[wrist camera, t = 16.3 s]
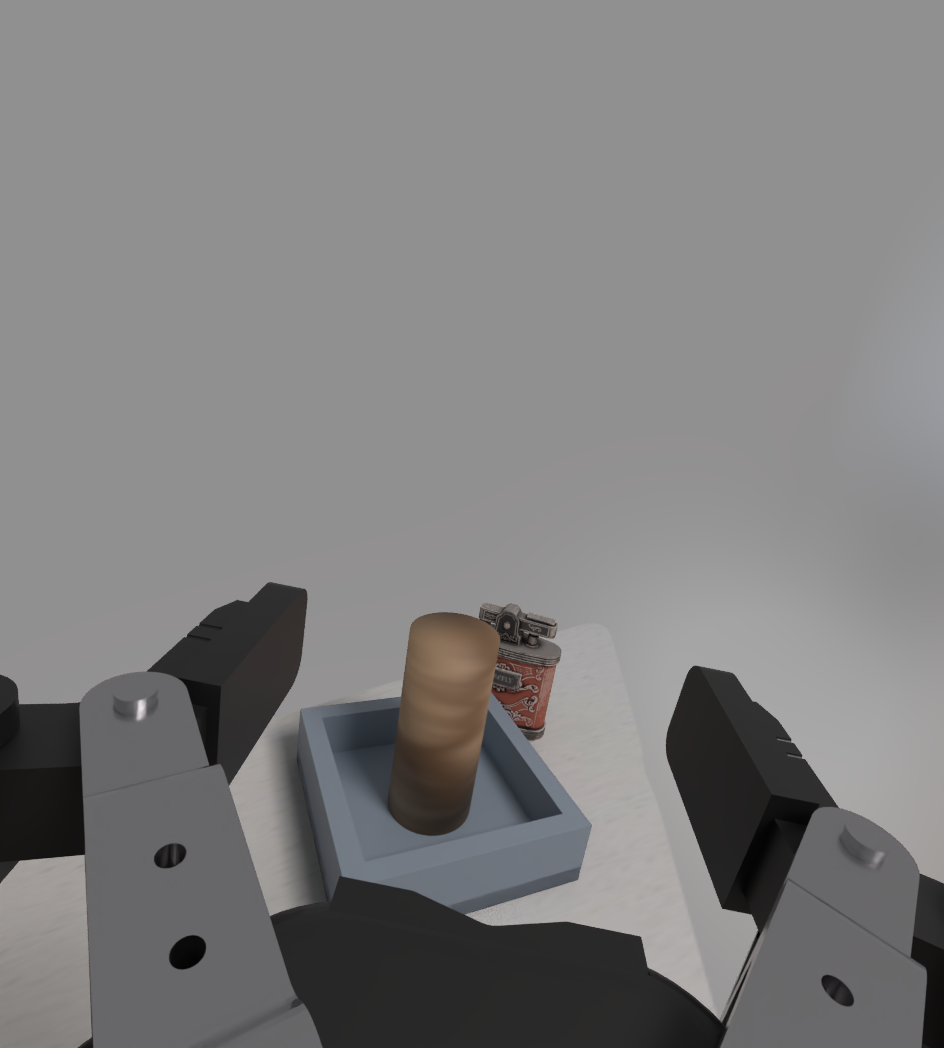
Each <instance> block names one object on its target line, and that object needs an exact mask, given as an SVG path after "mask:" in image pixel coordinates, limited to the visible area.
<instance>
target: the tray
mask: <svg viewBox="0 0 944 1048" xmlns="http://www.w3.org/2000/svg"><path fill="white" fill-rule="evenodd" d="M400 703H401V697H395V698H387V699H379V700H371V701H363V702H354V703H346V704H338V705H330V706H322V707H314V708H306V709H301V711H300V725H299V738H298V752H297V761H298V766H299V770H300V775H301V780H302V784H303V789H304V794H305V798H306V803H307V808H308V812H309V817H310V822H311V826H312V831H313V836H314V840H315V845H316V850H317V854H318V859H319V864H320V868H321V873H322V878H323V882H324V887H325V892H326V896H327V901H328V902H331V901H332V898H333V895H334V891H335V888H336V885H337V882H338V879H339V876H343V877H347V878H352V879H357V880H362V881H367V882H372V883H377V884H382V885H387V886H392V887H397V888H402V889H407V890H412V891H415V892H417V893H419V894H421V895H423V896H425V897H428V898H430V899H432V900H434V901H436V902H438V903H440V904H442V905H445V906H447V907H449V908H451V909H453V910H455V911H457V912H459V913H462V914H467V913H470V912H474V911H477V910H480V909H484V908H487V907H490V906H493V905H497V904H500V903H503V902H506V901H510V900H513V899H516V898H519V897H523V896H526V895H529V894H533V893H536V892H539V891H542V890H546V889H549V888H552V887H555V886H559V885H562V884H565V883H568V882H572V881H575V880H578V877H579V873H580V869H581V865H582V861H583V858H584V854H585V850H586V846H587V842H588V838H589V835H590V831H591V827H592V825H591V824H590V822H589V821H588V820H587V818H586V817H585V816H584V814H583V813H582V812H581V810H580V809H579V808H578V806H577V805H576V804H575V802H574V801H573V800H572V798H571V797H570V796H569V794H568V793H567V792H566V790H565V789H564V788H563V786H562V785H561V784H560V782H559V781H558V780H557V778H556V777H555V776H554V774H553V773H552V772H551V770H550V769H549V768H548V766H547V765H546V764H545V762H544V761H543V760H542V758H541V757H540V756H539V755H538V753H537V752H536V751H535V749H534V748H533V747H532V745H531V744H530V743H529V741H528V740H527V739H526V737H525V736H524V735H523V733H522V732H521V731H520V729H519V728H518V727H517V725H516V724H515V723H514V721H513V720H512V719H511V717H510V716H509V715H508V713H507V712H506V711H505V709H504V708H503V707H502V705H501V704H500V703H499V701H498V700H497V699H496V697H495V696H494V695H493V693H492V692H491V695H490V701H489V706H488V712H487V717H486V723H485V728H484V734H483V739H482V745H481V751H480V756H479V762H478V767H477V773H476V778H475V784H474V789H473V795H472V800H471V806H470V811H469V815H468V817H467V819H466V821H465V822H464V823H463V825H462V826H460V827H459V828H458V829H456V830H455V831H453V832H451V833H448V834H444V835H439V836H426V835H420V834H416V833H414V832H411V831H409V830H407V829H405V828H404V827H402V826H401V825H400V824H399V823H397V822H396V820H395V819H394V818H393V816H392V815H391V813H390V811H389V807H388V795H389V788H390V780H391V772H392V765H393V757H394V749H395V742H396V734H397V726H398V718H399V711H400Z"/></svg>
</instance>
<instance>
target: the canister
mask: <svg viewBox="0 0 944 1048" xmlns="http://www.w3.org/2000/svg"><path fill="white" fill-rule="evenodd" d="M499 646H500V636H499V634H498V632H497V631H496V630H495V629H494V628H493V627H492V626H490V625H489V624H487V623H486V622H484V621H482V620H480V619H477V618H474V617H471V616H468V615H464V614H458V613H447V612H444V613H443V612H442V613H432V614H427V615H424V616H421V617H419V618H417V619H416V620H415V621H414V622H413V623H412V624H411V627H410V634H409V641H408V649H407V657H406V665H405V672H404V680H403V688H402V695H401V703H400V711H399V718H398V726H397V734H396V742H395V749H394V757H393V765H392V772H391V780H390V788H389V795H388V807H389V811H390V813H391V815H392V816H393V818H394V819H395V820H396V822H397V823H399V824H400V825H401V826H402V827H404V828H405V829H407V830H409V831H411V832H414V833H416V834H420V835H426V836H439V835H444V834H448V833H451V832H453V831H455V830H456V829H458V828H459V827H460V826H462V825H463V823H464V822H465V821H466V819H467V817H468V815H469V811H470V806H471V800H472V795H473V789H474V784H475V778H476V773H477V767H478V762H479V756H480V751H481V745H482V739H483V734H484V728H485V723H486V717H487V712H488V706H489V701H490V695H491V690H492V684H493V679H494V673H495V668H496V662H497V657H498V651H499Z"/></svg>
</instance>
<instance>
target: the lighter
mask: <svg viewBox="0 0 944 1048" xmlns="http://www.w3.org/2000/svg"><path fill="white" fill-rule="evenodd" d="M479 618H480V620H482V621H484V622H486V623H487V624H489V625H490V626H492V627H493V628H494V629H495V630H496V631H497V632H498V634H499V636H500V646H499V651H498V657H497V662H496V668H495V673H494V679H493V684H492V690H491V692H492V693H493V695H494V696H495V697H496V699H497V700H498V701H499V703H500V704H501V705H502V707H503V708H504V709H505V711H506V712H507V713H508V715H509V716H510V717H511V719H512V720H513V721H514V723H515V724H516V725H517V727H518V728H519V729H520V731H521V732H522V733H523V735H524V736H525V737H526V739H527V740H530V741H535V740H539V739H540V738H542V736H543V735H544V730H545V725H546V722H545V715H546V710H547V706H548V701H549V696H550V692H551V687H552V683H553V678H554V673H555V669H556V664H558V663H559V661H560V656H561V649H560V647H559V646H557V645H556V644H554V643H552V642H549V641H547V640H544V639H542V638H539V636H541V637H545V638H548V639H554V638H555V635H556V631H557V626H558V624H557V623H556V620H554V619H551V618H547V617H544V616H540V615H536V614H533V613H529V614H526V613H523V612H522V611H521V609H520V608H519V606H518V605H515V604H508V605H507V606H506V607H500V606H497V605H494V604H490V603H483V604H482V605H481V607H480V613H479ZM491 622H492V623H495V625H494V624H491ZM524 632H527V633H529V634H527V633H524Z"/></svg>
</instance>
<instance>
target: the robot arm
mask: <svg viewBox="0 0 944 1048" xmlns="http://www.w3.org/2000/svg"><path fill="white" fill-rule="evenodd" d="M306 609H307V591H306V590H305V589H301V588H296V587H292V586H287V585H281V584H277V583H272V582H269V583H267V584H266V585H265V586H264V587H263V588H262V589H261V590H260V591H259V592H258V593H257V594H256V595H255V596H254V597H253V598H252V599H251V600H250V601H249V602H244V601H239V600H236V601H234V602H232V603H229V604H227V605H224V606H222V607H220V608H217V609H215V610H214V611H213V612H211V613H210V614H209V615H208V616H207V617H206V618H205V619H204V620H203V621H202V622H200V625H199V626H196V627H195V628H194V629H193V630H192V631H190V632H189V633H188V634H187V637H186V638H185V637H184V638H183V639H182V640H181V641H180V642H178V643H177V644H176V645H175V646H174V647H173V648H172V649H171V650H170V651H169V652H167V654H165V655H164V656H163V657H162V658H161V659H160V660H159V661H158V662H156V663H155V664H154V665H153V666H152V667H151V668H150V669H149V670H148V671H147V672H136V673H129V674H123V675H120V676H116V677H113V678H110V679H108V680H106V681H104V682H101V683H100V684H98V685H97V686H95V687H93V688H92V689H91V690H90V691H88V692H87V693H86V694H85V696H84V697H83V698H82V701H81V702H79V703H67V704H19V700H18V689H17V686H16V684H15V683H14V682H13V681H12V680H11V679H9V678H8V677H5V676H2V675H0V883H1V882H2V880H3V879H4V878H5V877H6V876H7V875H8V873H9V872H10V871H11V870H12V869H13V868H14V867H15V865H16V864H17V863H18V862H19V861H21V860H32V859H43V858H54V857H65V856H76V855H85V875H86V900H87V925H88V950H89V976H90V1002H91V1028H92V1038H90V1039H89V1040H87V1041H86V1042H85V1043H83V1044H82V1045H81V1046H79V1047H78V1048H944V884H943V883H941V882H939V881H936V880H934V879H931V878H929V877H927V876H925V875H922V874H920V873H919V870H918V866H917V864H916V862H915V860H914V859H913V857H912V856H911V855H910V853H909V852H908V851H907V850H906V848H905V847H904V846H903V845H902V844H901V843H900V842H899V841H898V840H896V839H895V838H894V837H893V836H892V835H891V834H889V833H888V832H887V831H885V830H884V829H883V828H881V827H880V826H878V825H876V824H875V823H873V822H872V821H870V820H868V819H866V818H864V817H862V816H860V815H858V814H855V813H853V812H850V811H847V810H844V809H840V808H839V807H838V806H837V805H836V803H835V802H834V800H833V799H832V797H831V796H830V795H829V793H828V792H827V790H826V789H825V787H824V786H823V784H822V783H821V782H820V780H819V779H818V777H817V776H816V774H815V773H814V771H813V770H812V769H811V767H810V766H809V765H808V763H807V761H806V760H805V759H802V754H801V753H800V751H799V750H798V748H797V747H796V745H795V744H794V743H791V738H790V737H789V735H788V734H787V733H786V731H785V730H784V728H783V727H782V725H781V724H780V723H779V721H778V720H777V719H776V718H774V717H773V716H772V715H771V714H770V713H769V712H768V711H766V710H765V709H764V708H763V707H762V706H761V705H759V704H758V703H757V702H753V701H752V700H751V699H750V697H749V696H748V694H747V693H746V691H745V690H744V688H743V687H742V685H741V684H740V682H739V681H738V679H737V677H736V676H735V675H734V674H733V673H730V672H725V671H720V670H715V669H710V668H705V667H700V666H693V667H692V668H691V669H690V670H689V672H688V674H687V676H686V679H685V682H684V685H683V688H682V690H681V693H680V696H679V699H678V702H677V705H676V708H675V710H674V714H673V716H672V719H671V722H670V725H669V728H668V732H667V738H666V753H667V759H668V762H669V765H670V768H671V771H672V773H673V776H674V779H675V781H676V784H677V787H678V790H679V792H680V795H681V798H682V800H683V803H684V806H685V809H686V811H687V814H688V817H689V820H690V822H691V825H692V828H693V831H694V833H695V836H696V839H697V841H698V844H699V847H700V850H701V852H702V855H703V858H704V860H705V863H706V866H707V869H708V872H709V874H710V877H711V880H712V882H713V885H714V888H715V891H716V893H717V896H718V899H719V902H720V904H721V907H722V909H727V910H732V911H737V912H742V913H747V914H752V916H753V918H754V921H755V923H756V925H757V928H758V931H757V933H756V936H755V938H754V940H753V942H752V944H751V947H750V949H749V951H748V954H747V956H746V959H745V961H744V963H743V965H742V968H741V970H740V973H739V975H738V977H737V980H736V982H735V985H734V987H733V989H732V991H731V994H730V996H729V998H728V1001H727V1003H726V1006H725V1008H724V1010H723V1013H722V1015H721V1017H720V1020H719V1019H718V1018H717V1017H716V1016H715V1015H714V1014H713V1013H712V1012H711V1011H710V1010H709V1009H707V1008H706V1007H705V1006H704V1005H703V1004H702V1003H700V1002H699V1001H698V1000H697V999H696V998H695V997H693V996H692V995H691V994H690V993H688V992H687V991H685V990H684V989H683V988H681V987H680V986H678V985H677V984H676V983H674V982H673V981H671V980H669V979H668V978H666V977H664V976H663V975H661V974H659V973H658V972H656V971H654V970H652V969H649V968H648V967H647V963H646V958H645V953H644V949H643V944H642V939H641V937H640V936H635V935H630V934H625V933H620V932H615V931H610V930H605V929H600V928H595V927H590V926H585V925H580V924H575V923H571V922H554V923H538V924H521V925H505V926H491V925H486V924H483V923H481V922H479V921H476V920H474V919H472V918H470V917H468V916H466V915H464V914H462V913H459V912H457V911H455V910H453V909H451V908H449V907H447V906H445V905H442V904H440V903H438V902H436V901H434V900H432V899H430V898H428V897H425V896H423V895H421V894H419V893H417V892H415V891H412V890H407V889H402V888H397V887H392V886H387V885H382V884H377V883H372V882H367V881H362V880H357V879H352V878H347V877H343V876H339V879H338V882H337V885H336V888H335V891H334V895H333V898H332V901H331V902H326V903H315V904H310V905H304V906H299V907H295V908H292V909H289V910H285V911H282V912H279V913H276V914H274V915H272V916H269V913H268V909H267V906H266V903H265V900H264V897H263V894H262V890H261V887H260V884H259V881H258V878H257V874H256V871H255V868H254V865H253V862H252V859H251V855H250V852H249V849H248V846H247V843H246V839H245V836H244V833H243V830H242V827H241V823H240V820H239V817H238V814H237V811H236V808H235V804H234V801H233V798H232V795H231V792H230V788H229V785H230V783H231V782H232V780H233V779H234V777H235V775H236V774H237V772H238V771H239V769H240V768H241V766H242V764H243V763H244V761H245V760H246V758H247V757H248V755H249V753H250V752H251V750H252V749H253V747H254V745H255V744H256V742H257V741H258V739H259V738H260V736H261V734H262V733H263V731H264V730H265V728H266V727H267V725H268V723H269V722H270V720H271V719H272V717H273V716H274V714H275V712H276V711H277V709H278V708H279V706H280V704H281V703H282V701H283V700H284V698H285V697H286V695H287V693H288V692H289V690H290V689H291V687H292V685H293V683H294V681H295V678H296V676H297V673H298V670H299V666H300V662H301V656H302V647H303V637H304V628H305V617H306Z"/></svg>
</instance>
